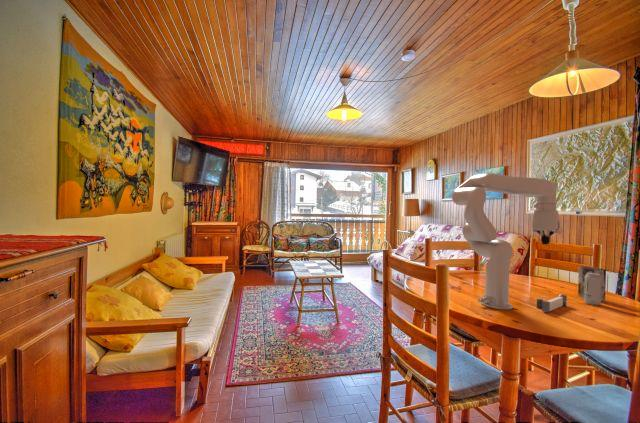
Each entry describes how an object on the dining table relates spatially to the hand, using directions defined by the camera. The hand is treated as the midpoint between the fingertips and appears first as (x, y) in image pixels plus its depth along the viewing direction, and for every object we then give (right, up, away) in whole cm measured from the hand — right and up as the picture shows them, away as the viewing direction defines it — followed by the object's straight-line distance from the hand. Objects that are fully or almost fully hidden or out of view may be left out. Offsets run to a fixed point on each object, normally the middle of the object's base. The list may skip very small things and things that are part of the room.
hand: (545, 244), depth 140 cm
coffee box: (+31, -30, +8) cm, 44 cm away
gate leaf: (-4, -29, -10) cm, 30 cm away
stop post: (-9, -29, -8) cm, 31 cm away
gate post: (+5, -29, -4) cm, 30 cm away
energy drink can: (+23, -30, 0) cm, 38 cm away
